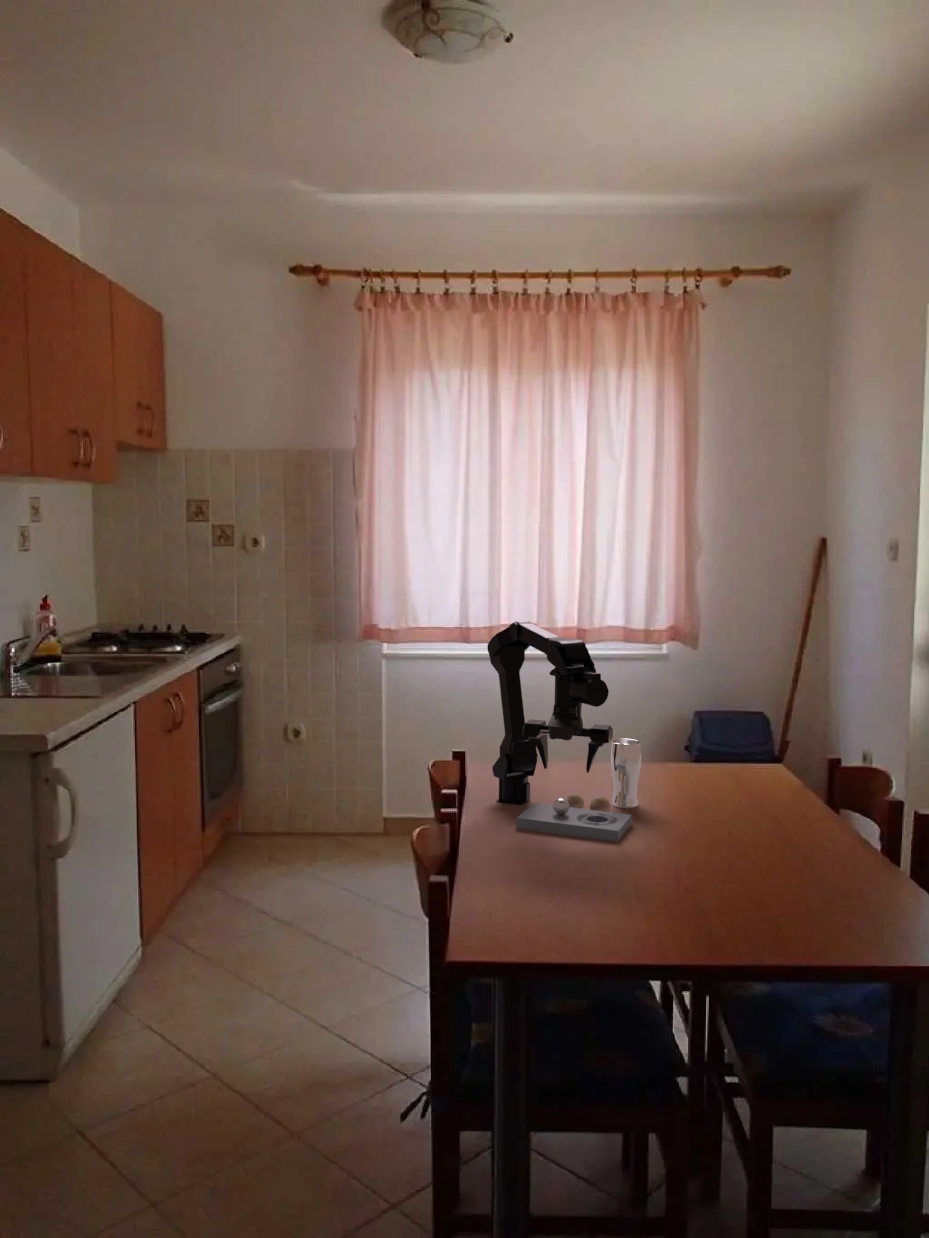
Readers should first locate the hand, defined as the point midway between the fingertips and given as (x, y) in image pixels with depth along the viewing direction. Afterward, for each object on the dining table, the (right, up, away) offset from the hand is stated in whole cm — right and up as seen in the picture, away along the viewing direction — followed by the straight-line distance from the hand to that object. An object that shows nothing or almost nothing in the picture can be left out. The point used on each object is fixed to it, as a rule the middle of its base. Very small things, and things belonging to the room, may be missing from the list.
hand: (566, 770), depth 201 cm
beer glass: (+15, -11, +16) cm, 25 cm away
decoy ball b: (+8, -9, +7) cm, 14 cm away
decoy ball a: (+3, -9, +10) cm, 13 cm away
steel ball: (-1, -8, 0) cm, 8 cm away
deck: (+2, -12, -1) cm, 12 cm away
